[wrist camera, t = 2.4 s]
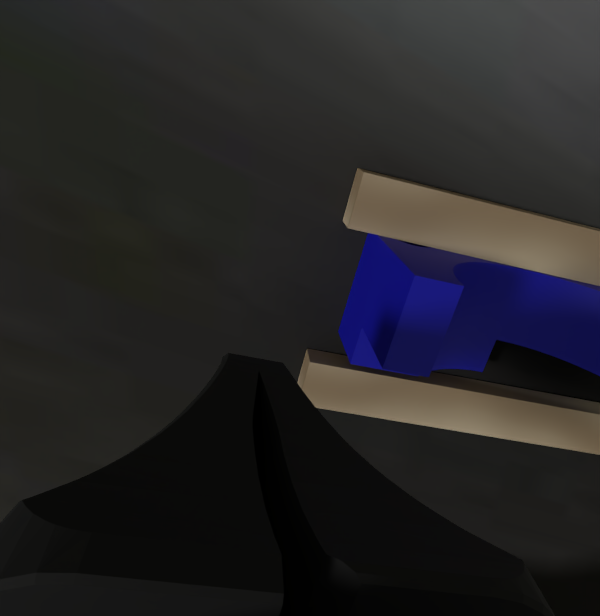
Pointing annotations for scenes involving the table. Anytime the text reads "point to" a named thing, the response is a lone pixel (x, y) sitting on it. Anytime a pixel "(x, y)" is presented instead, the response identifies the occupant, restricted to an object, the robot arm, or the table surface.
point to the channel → (447, 388)
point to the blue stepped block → (461, 311)
